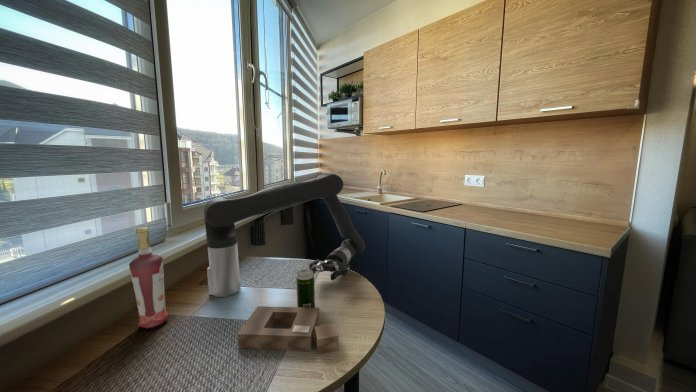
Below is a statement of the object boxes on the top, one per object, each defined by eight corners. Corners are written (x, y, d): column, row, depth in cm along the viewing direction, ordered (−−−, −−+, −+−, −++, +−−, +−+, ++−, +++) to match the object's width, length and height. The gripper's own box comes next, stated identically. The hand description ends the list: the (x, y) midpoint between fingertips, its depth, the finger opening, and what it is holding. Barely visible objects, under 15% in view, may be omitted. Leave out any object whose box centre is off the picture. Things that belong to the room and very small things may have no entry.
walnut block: (318, 354, 62) (317, 339, 61) (315, 340, 67) (314, 326, 66) (338, 350, 63) (338, 335, 62) (334, 337, 68) (333, 323, 67)
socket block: (238, 348, 64) (237, 333, 63) (258, 318, 76) (257, 305, 75) (310, 351, 63) (310, 335, 62) (319, 320, 74) (318, 307, 74)
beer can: (317, 311, 79) (316, 274, 77) (300, 316, 77) (298, 278, 75) (311, 302, 84) (310, 267, 82) (295, 307, 81) (294, 271, 80)
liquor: (167, 326, 72) (156, 229, 68) (134, 335, 69) (120, 233, 65) (171, 313, 79) (160, 223, 75) (141, 320, 75) (128, 227, 71)
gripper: (322, 247, 105) (301, 262, 90) (355, 252, 100) (339, 268, 85) (323, 265, 106) (302, 282, 91) (355, 270, 101) (339, 289, 86)
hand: (320, 275), depth 88 cm, fingers open, 8 cm apart
